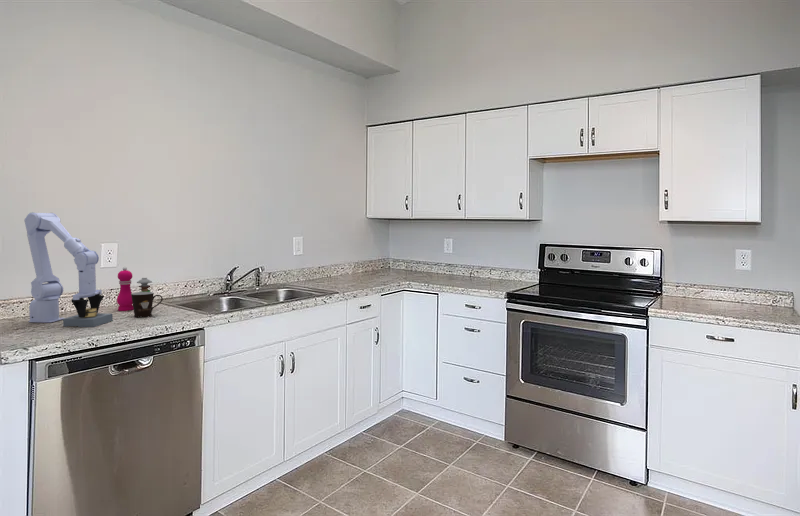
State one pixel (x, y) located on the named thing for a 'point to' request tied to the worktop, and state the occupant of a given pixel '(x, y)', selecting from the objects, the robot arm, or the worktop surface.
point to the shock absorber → (144, 285)
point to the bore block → (88, 320)
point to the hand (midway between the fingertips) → (88, 315)
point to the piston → (91, 312)
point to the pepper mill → (125, 291)
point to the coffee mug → (143, 303)
